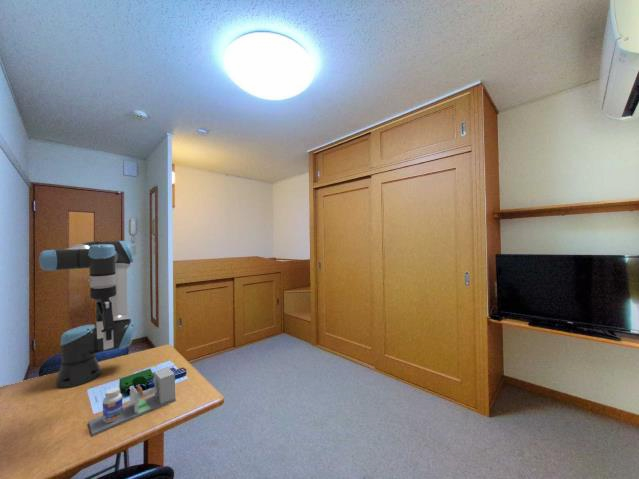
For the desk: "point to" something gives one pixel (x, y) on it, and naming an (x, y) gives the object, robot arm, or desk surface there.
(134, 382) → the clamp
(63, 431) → the desk surface
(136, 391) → the plunger
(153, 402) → the base
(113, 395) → the pill bottle
